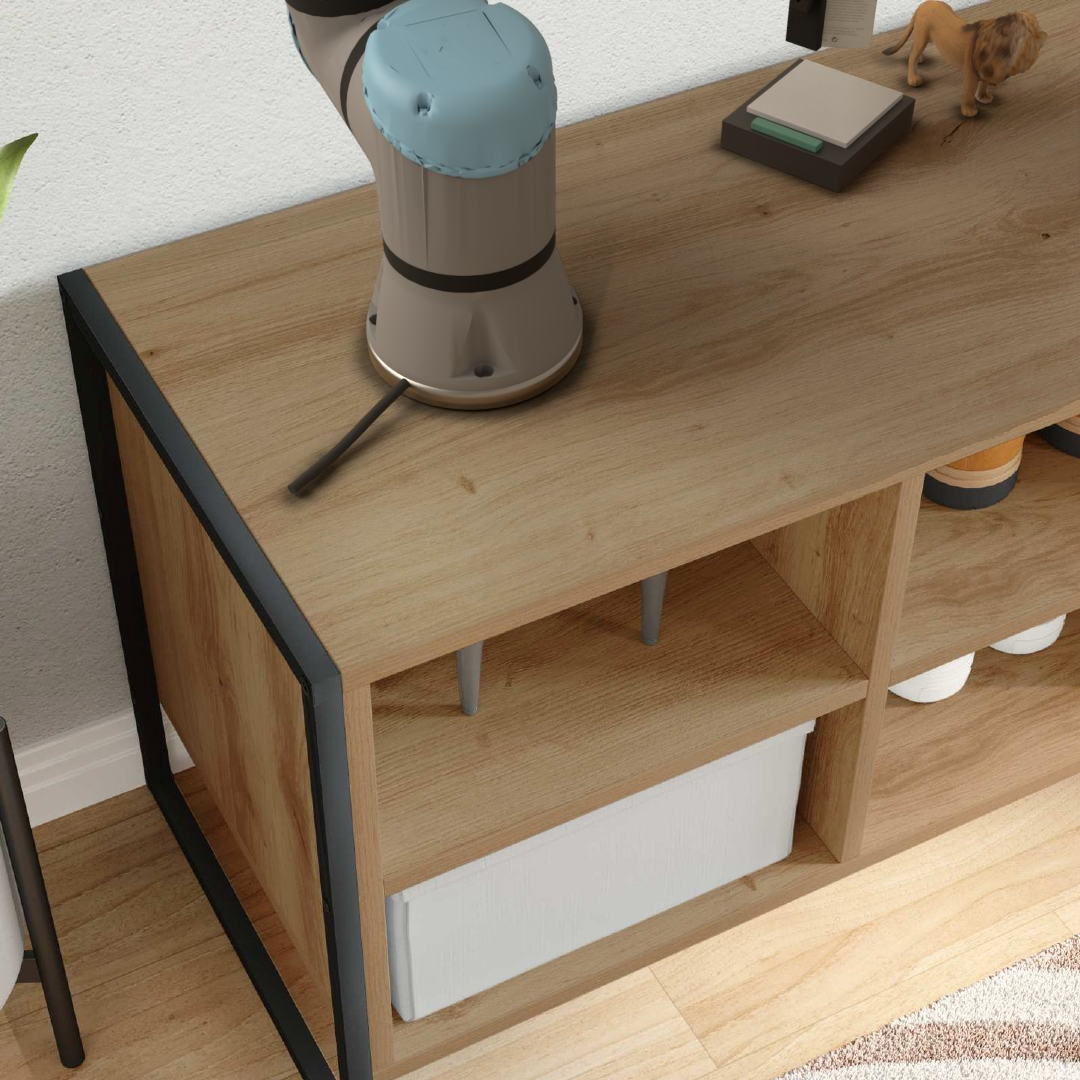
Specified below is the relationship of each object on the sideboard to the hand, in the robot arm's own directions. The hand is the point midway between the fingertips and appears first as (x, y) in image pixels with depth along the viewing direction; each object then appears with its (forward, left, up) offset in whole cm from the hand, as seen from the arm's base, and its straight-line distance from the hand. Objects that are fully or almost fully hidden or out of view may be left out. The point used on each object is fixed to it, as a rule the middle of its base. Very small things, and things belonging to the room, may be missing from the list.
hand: (836, 17), depth 122 cm
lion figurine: (+12, -6, -10) cm, 17 cm away
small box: (0, 0, -1) cm, 1 cm away
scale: (-1, 0, -10) cm, 10 cm away
